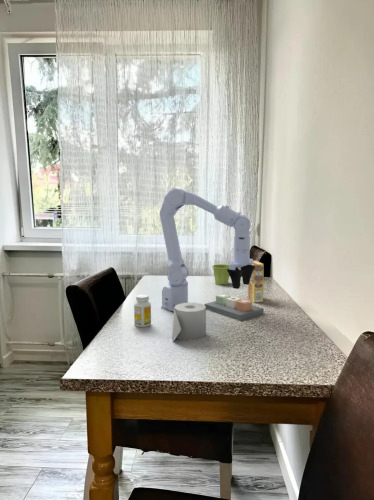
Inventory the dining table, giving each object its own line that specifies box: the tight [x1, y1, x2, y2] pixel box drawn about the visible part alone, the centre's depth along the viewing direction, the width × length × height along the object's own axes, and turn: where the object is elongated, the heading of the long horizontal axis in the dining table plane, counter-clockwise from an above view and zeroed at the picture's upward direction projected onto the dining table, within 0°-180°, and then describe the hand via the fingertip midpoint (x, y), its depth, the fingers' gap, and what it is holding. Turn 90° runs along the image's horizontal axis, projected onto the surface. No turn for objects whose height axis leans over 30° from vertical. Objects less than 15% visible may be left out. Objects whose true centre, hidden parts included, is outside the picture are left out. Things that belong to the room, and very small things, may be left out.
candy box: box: [247, 260, 265, 303], centre depth 146 cm, size 9×4×15 cm, turn 8°
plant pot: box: [211, 264, 230, 286], centre depth 175 cm, size 9×9×9 cm
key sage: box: [215, 293, 231, 306], centre depth 135 cm, size 4×4×3 cm
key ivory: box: [226, 296, 242, 309], centre depth 131 cm, size 4×4×3 cm
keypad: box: [203, 300, 265, 321], centre depth 132 cm, size 12×18×2 cm, turn 39°
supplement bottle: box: [133, 293, 152, 328], centre depth 117 cm, size 5×5×10 cm
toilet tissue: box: [171, 302, 207, 342], centre depth 106 cm, size 9×13×9 cm
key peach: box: [236, 299, 253, 312], centre depth 127 cm, size 4×4×3 cm
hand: (241, 286), depth 132 cm, fingers open, 7 cm apart
